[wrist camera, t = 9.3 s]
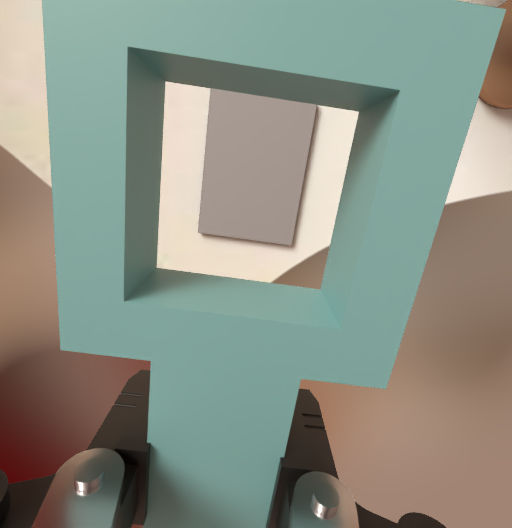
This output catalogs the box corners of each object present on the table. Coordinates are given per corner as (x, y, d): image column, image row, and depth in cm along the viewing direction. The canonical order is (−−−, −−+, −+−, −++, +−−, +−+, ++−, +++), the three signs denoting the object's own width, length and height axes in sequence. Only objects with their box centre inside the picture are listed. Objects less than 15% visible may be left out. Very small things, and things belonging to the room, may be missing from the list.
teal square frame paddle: (106, 2, 6) (39, -72, 4) (431, 55, 6) (506, 8, 4) (107, 480, 10) (71, 555, 8) (312, 501, 10) (325, 579, 8)
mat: (211, 86, 30) (211, 84, 29) (316, 102, 30) (317, 101, 29) (198, 231, 34) (197, 232, 33) (290, 244, 34) (291, 245, 34)
